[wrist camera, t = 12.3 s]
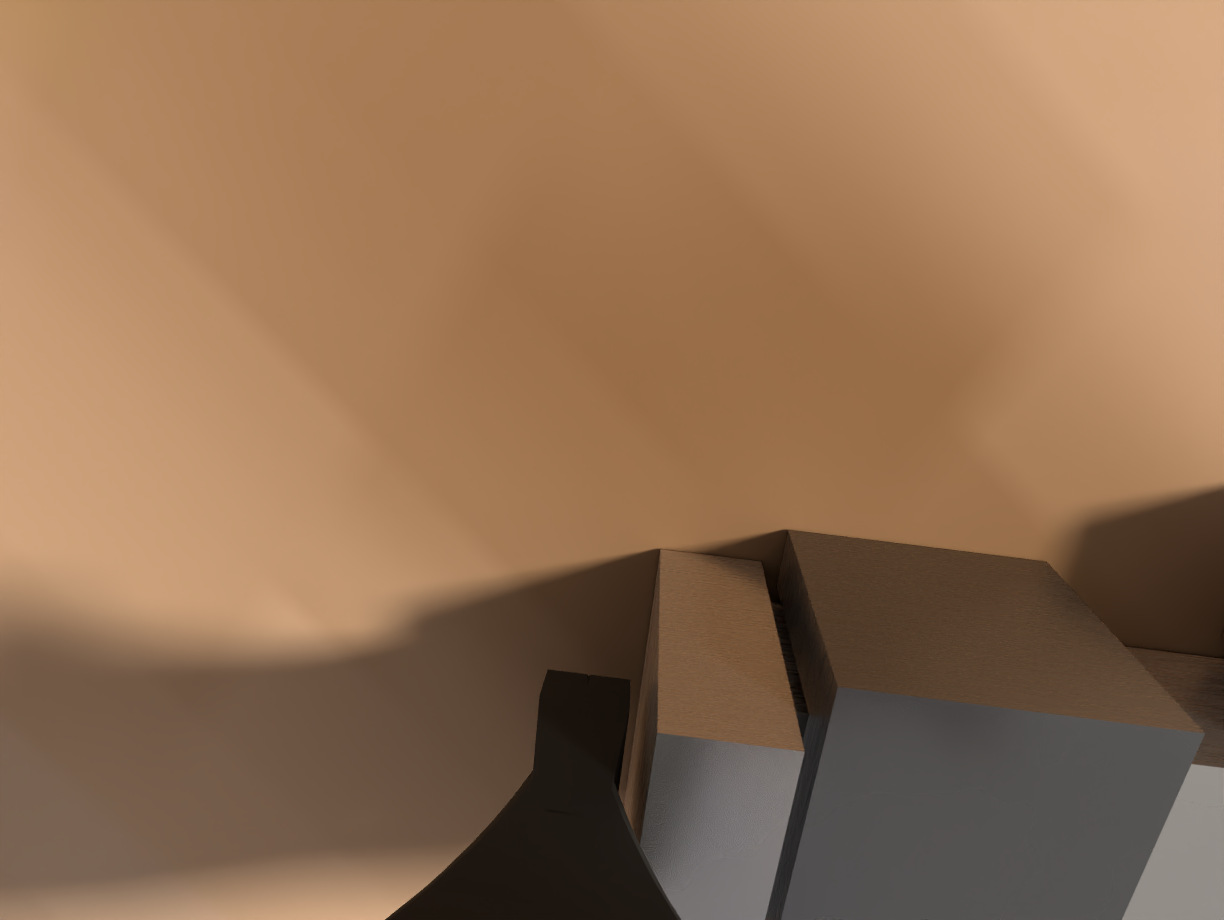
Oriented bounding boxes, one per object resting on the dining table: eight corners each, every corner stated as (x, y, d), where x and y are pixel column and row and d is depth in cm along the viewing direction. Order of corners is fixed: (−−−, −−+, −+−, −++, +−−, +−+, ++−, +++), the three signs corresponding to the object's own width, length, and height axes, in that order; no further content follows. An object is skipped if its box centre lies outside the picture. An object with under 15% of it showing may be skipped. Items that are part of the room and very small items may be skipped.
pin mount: (945, 865, 15) (1039, 1104, 11) (726, 835, 15) (745, 1064, 11) (1046, 561, 13) (1204, 732, 9) (788, 530, 13) (838, 687, 9)
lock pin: (1276, 881, 15) (1515, 1169, 10) (625, 796, 15) (608, 1044, 11) (1403, 641, 13) (1751, 874, 9) (660, 549, 13) (657, 732, 9)
